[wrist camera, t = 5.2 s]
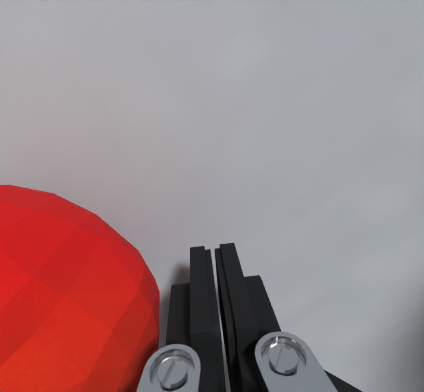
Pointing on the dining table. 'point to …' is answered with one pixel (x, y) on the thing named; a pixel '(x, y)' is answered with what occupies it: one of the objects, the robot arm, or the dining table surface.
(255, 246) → the dining table surface
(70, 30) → the dining table surface
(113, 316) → the tomato
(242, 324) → the robot arm
